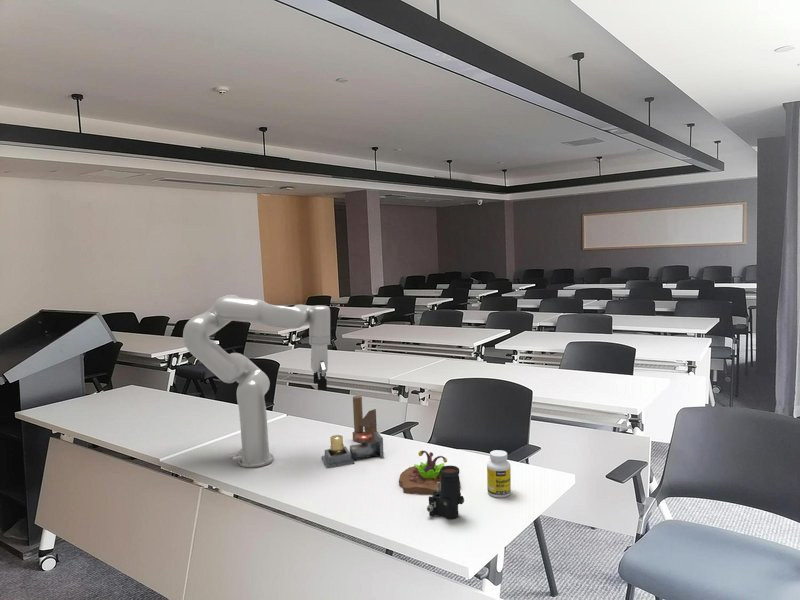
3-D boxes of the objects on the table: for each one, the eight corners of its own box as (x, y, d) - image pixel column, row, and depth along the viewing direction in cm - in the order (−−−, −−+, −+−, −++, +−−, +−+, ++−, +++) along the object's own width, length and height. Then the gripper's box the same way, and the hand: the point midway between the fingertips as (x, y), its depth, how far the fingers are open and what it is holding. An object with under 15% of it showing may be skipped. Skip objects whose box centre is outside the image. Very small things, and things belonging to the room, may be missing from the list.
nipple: (332, 461, 205) (331, 440, 204) (330, 457, 210) (328, 436, 209) (345, 459, 207) (344, 438, 206) (342, 455, 211) (341, 434, 210)
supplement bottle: (495, 500, 172) (494, 458, 171) (483, 491, 179) (482, 451, 178) (515, 495, 175) (514, 454, 174) (502, 486, 182) (501, 447, 180)
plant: (399, 471, 197) (398, 440, 196) (456, 470, 197) (455, 438, 196) (398, 497, 177) (397, 463, 176) (462, 496, 177) (460, 460, 176)
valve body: (326, 468, 202) (325, 445, 201) (321, 458, 212) (320, 436, 211) (384, 459, 208) (383, 437, 208) (377, 450, 218) (376, 429, 217)
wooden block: (371, 446, 222) (368, 401, 220) (352, 440, 229) (350, 396, 227) (377, 444, 224) (375, 399, 223) (359, 438, 232) (357, 394, 230)
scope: (436, 460, 169) (468, 465, 164) (437, 505, 170) (469, 512, 166) (424, 471, 162) (457, 476, 157) (426, 518, 163) (458, 524, 159)
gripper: (306, 336, 214) (306, 381, 216) (312, 344, 198) (313, 393, 199) (326, 335, 216) (326, 380, 218) (334, 343, 200) (334, 391, 202)
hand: (320, 386), depth 209 cm, fingers open, 9 cm apart
